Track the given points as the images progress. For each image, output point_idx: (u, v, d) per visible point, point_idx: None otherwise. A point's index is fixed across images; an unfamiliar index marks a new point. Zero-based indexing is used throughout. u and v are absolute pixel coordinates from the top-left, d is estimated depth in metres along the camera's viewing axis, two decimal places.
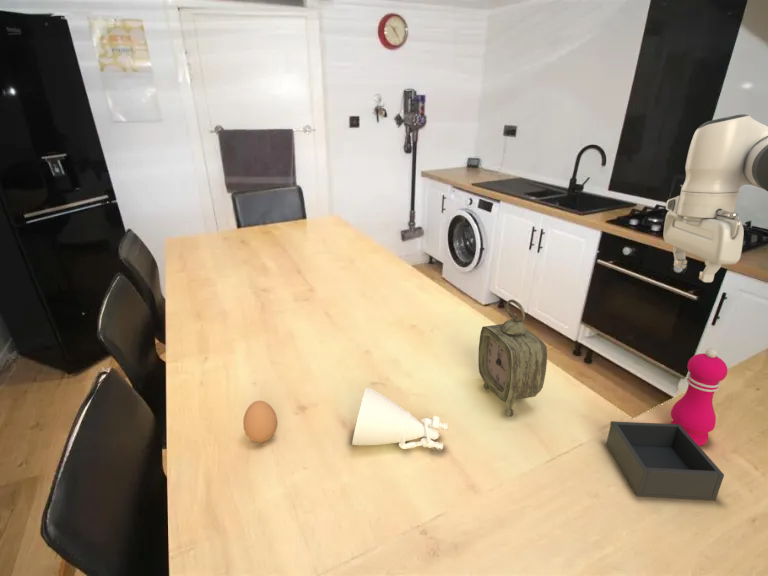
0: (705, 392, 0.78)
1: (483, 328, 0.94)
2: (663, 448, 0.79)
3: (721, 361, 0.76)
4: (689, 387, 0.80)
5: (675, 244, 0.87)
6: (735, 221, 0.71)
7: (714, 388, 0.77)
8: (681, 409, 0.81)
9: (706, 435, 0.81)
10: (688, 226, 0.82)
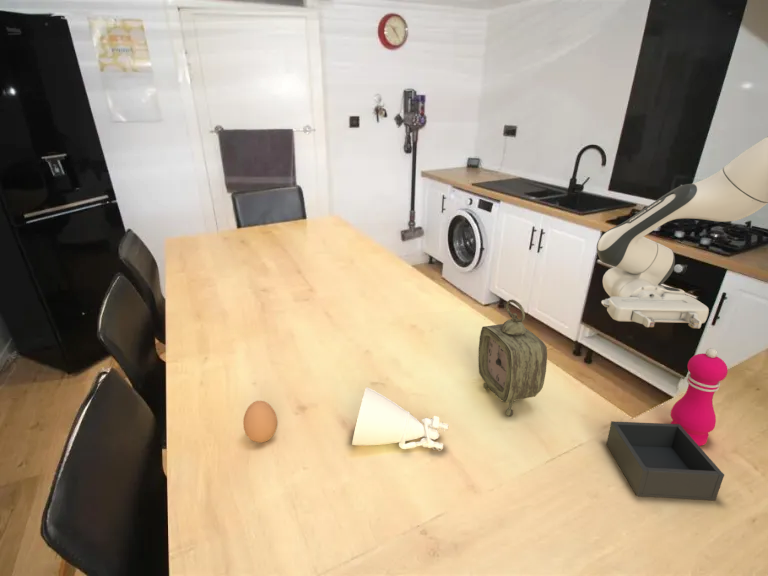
0: (705, 392, 0.78)
1: (483, 328, 0.94)
2: (663, 448, 0.79)
3: (721, 361, 0.76)
4: (689, 387, 0.80)
5: None
6: None
7: (714, 388, 0.77)
8: (681, 409, 0.81)
9: (706, 435, 0.81)
10: None
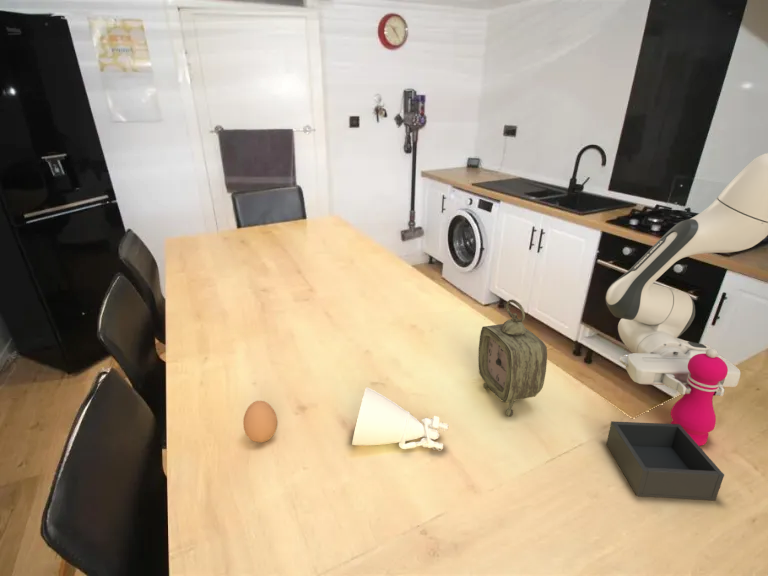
0: (705, 392, 0.78)
1: (483, 328, 0.94)
2: (663, 448, 0.79)
3: (721, 361, 0.76)
4: None
5: None
6: None
7: (714, 388, 0.77)
8: (681, 409, 0.81)
9: (706, 435, 0.81)
10: None
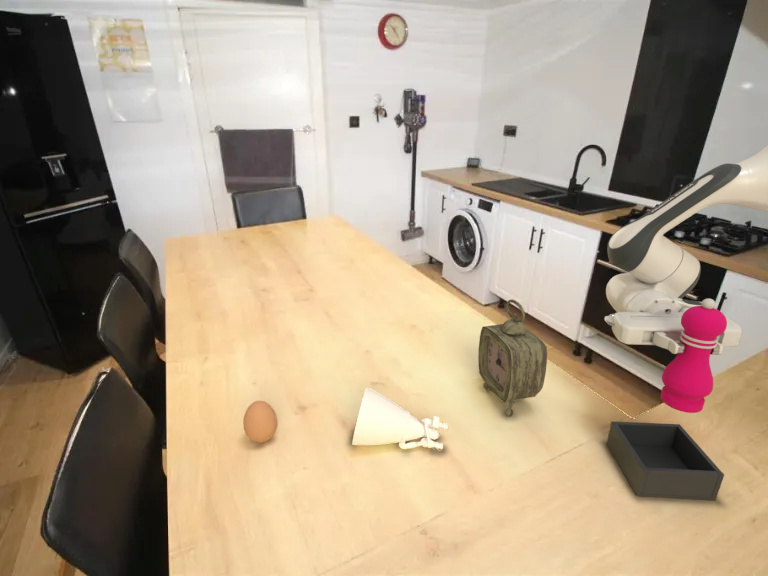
0: (701, 349, 0.67)
1: (483, 328, 0.94)
2: (663, 448, 0.79)
3: (719, 313, 0.65)
4: None
5: None
6: None
7: (711, 344, 0.66)
8: (673, 370, 0.70)
9: (702, 401, 0.70)
10: None
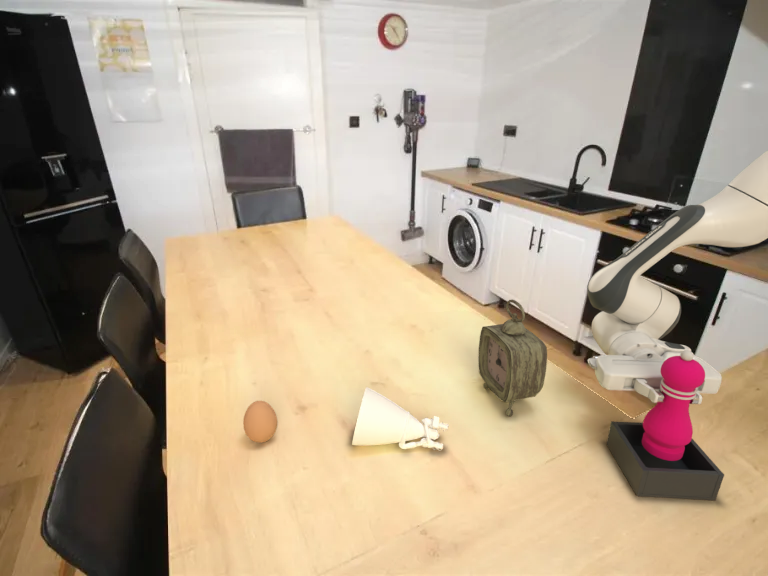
0: (680, 400, 0.68)
1: (483, 328, 0.94)
2: None
3: (698, 365, 0.66)
4: None
5: None
6: None
7: (690, 396, 0.67)
8: (653, 418, 0.71)
9: (682, 449, 0.71)
10: None
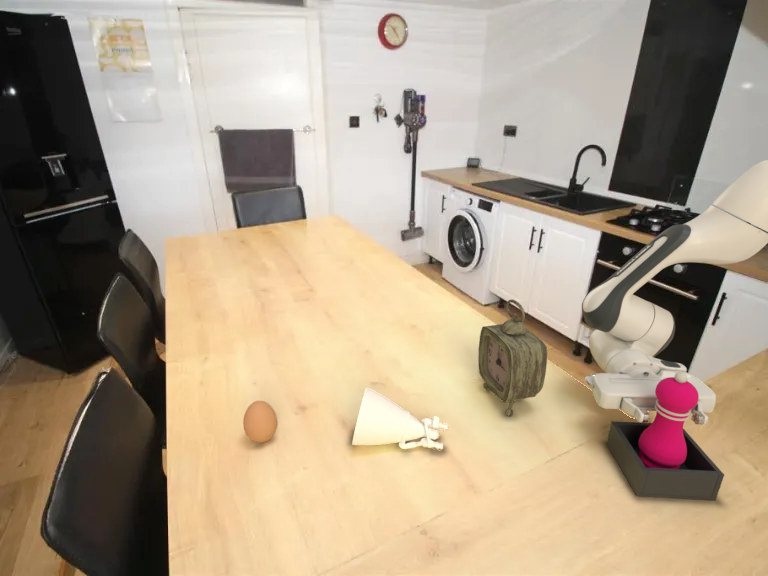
0: (674, 421, 0.69)
1: (483, 328, 0.94)
2: None
3: (691, 387, 0.68)
4: (657, 414, 0.71)
5: None
6: None
7: (684, 417, 0.68)
8: (648, 438, 0.72)
9: (677, 468, 0.72)
10: None
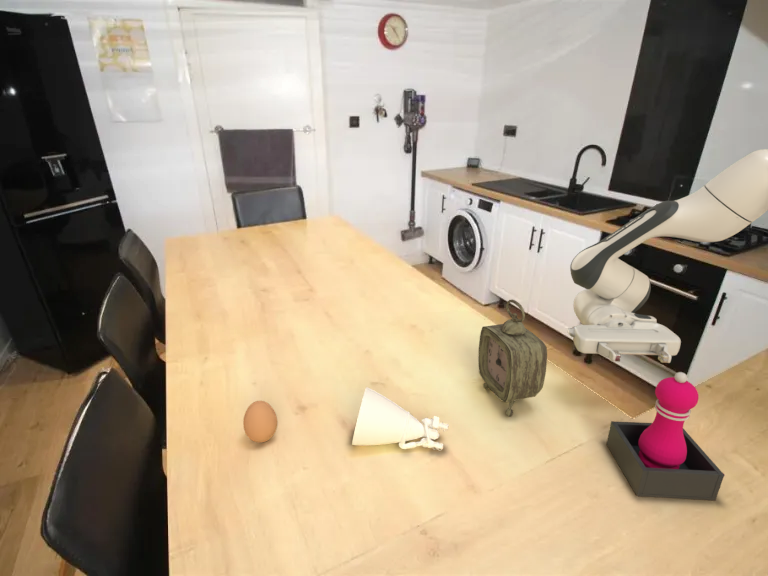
0: (674, 421, 0.69)
1: (483, 328, 0.94)
2: None
3: (691, 387, 0.68)
4: (657, 414, 0.71)
5: None
6: None
7: (684, 417, 0.68)
8: (648, 438, 0.72)
9: (677, 468, 0.72)
10: None
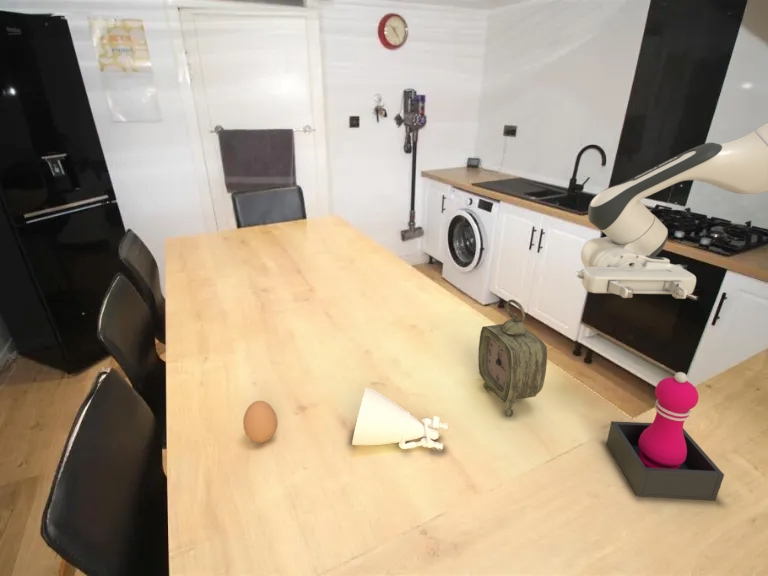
0: (674, 421, 0.69)
1: (483, 328, 0.94)
2: None
3: (691, 387, 0.68)
4: (657, 414, 0.71)
5: None
6: None
7: (684, 417, 0.68)
8: (648, 438, 0.72)
9: (677, 468, 0.72)
10: None
